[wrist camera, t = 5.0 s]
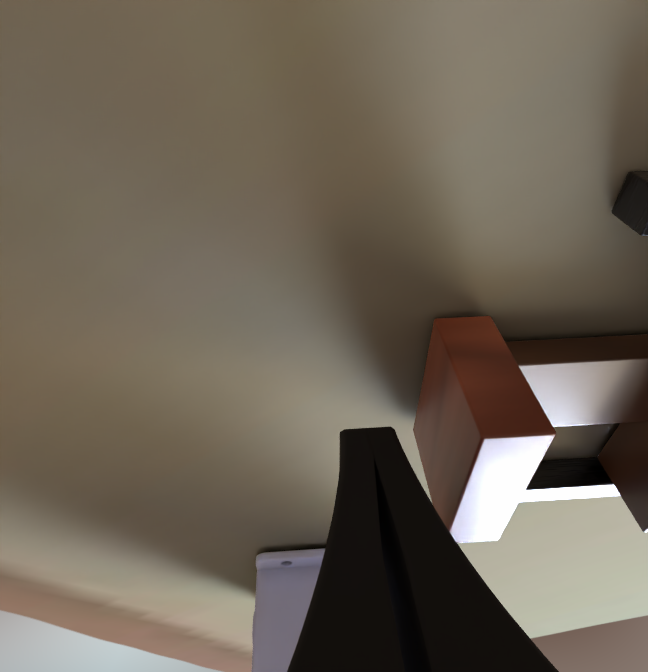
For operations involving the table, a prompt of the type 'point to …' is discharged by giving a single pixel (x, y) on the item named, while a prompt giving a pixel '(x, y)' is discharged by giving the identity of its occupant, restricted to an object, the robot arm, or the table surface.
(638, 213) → the rails
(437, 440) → the carrier
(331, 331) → the table surface
